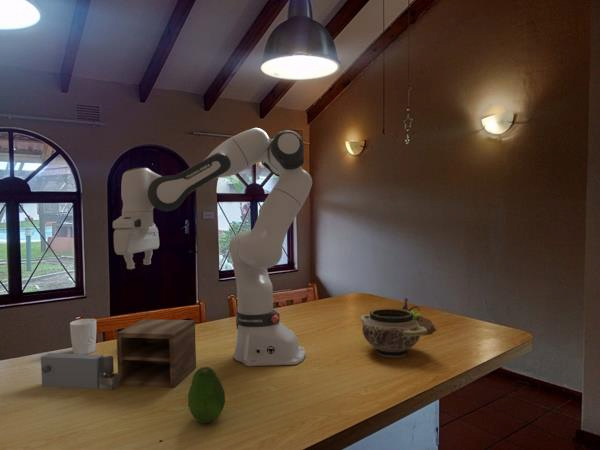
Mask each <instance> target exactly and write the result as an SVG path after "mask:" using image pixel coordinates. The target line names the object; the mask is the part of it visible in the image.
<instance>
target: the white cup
mask: <svg viewBox="0 0 600 450" xmlns="http://www.w3.org/2000/svg"><path fill="white" fill-rule="evenodd" d="M69 328H70V329H69V330H70V339H71V340H70V341H71V345H72V354H88V355H89V354H91V353H94V352H95V351H96V347H97V346H96V345H97V343H96V342H97V319H95V318H82V319H81V318H80V319H76V320H73V321H71V322H70V323H69Z"/></svg>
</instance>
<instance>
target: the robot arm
mask: <svg viewBox="0 0 600 450" xmlns="http://www.w3.org/2000/svg"><path fill="white" fill-rule="evenodd" d="M257 163H261V165H262V166H263V167H265V168H266V169H267V170H269V172H270V173H271V174H273V175H274V176H276V177H278V180H277V182H276V183H275V184H274V187H272V189H271V190H270V192H269V193H268V195H267V197H266V198H265V200H264V202H263V203H262V204H261V206H260V207H259V209H258V216H257V219H256V221H255V224H254V226H253V228H251V230H244V231H240V232H238V233H237V234H235V235H234V236H232V237H231V239H230V241H229V244H228V250H229V254H230V257H231V259H232V260H231V261H232V267H233V273H234V277H235V284H236V297H237V298H236V299H237V301H236V302H237V311H236V315H235V325H236V331H237V333H236V343H235V349H234V352H233V356H232V357H233V359H235V360H236V361H237V362H240V363H242V364H243V365H244V366H247V367H253V366H254V367H256V366H263V367H264V366H284V365H287V366H288V365H290V366H291V365H297V364H300V363H301V362H303V360H305V357H306V349H305V348H304V347H302V346H299V341H298V337H297V335H296V333H295V332H294V331H293V330H291V329H290V328H288V326H285V324H283V323H282V322H280V321H281V320H280V319H281V317H280V316H281V312H280V311H279V310H278V311H276V310H275V309H274V296H273V295H274V292H273V291H274V290H273V289H274V287H273V283H272V281H271V279H270V275H269V272H268V269H271V268H273V267H275V266H276V265H277V264H279V262H280V261H281V259H282V255H283V244H284V242H285V239H286V236H287V233H288V231H289V228H290V226H292V223H293V221H294V220H295V219H296V217H297V215H298V214H299V212H300V210H301V209H302V208H303V206H304V204H305V202H306V200H307V198H308V196H309V194H310V192H311V189H312V185H313V179H312V175H310V174H309V172H308V171H307V170H305V169H303V167H302V165H304V163H305V144H304V140H303V138H302V136H301V135H300V134H299V133H297V132H296V131H294V130H290V129H289V130H288V129H285V130H281V131H280V132H277V134H275V136H274V137H273V138H271V137H269V135H268V134H267V132H266V131H265V130H263V129H261V128H258V127H254V128H250V129H247V130H244V131H241V132H239V133H238V134H235V135H234V136H232V137H230V138H227V139H226V140H224V141H223V142H222V143H220V144H219V145H218V146H216V147H215V148H214V149H213V150H212V151H211V152H210V153H209V155H207V156H206V157H205V158H204V159H203V160H202V161H199V162H198V163H196V164H194V165H192V166H191V167H188V168H187V169H186V170H184V171H182V172H179V173H177V174H171V175H170V174H169V175H160V174H158V173H156V172H154V171H153V170H151V169H150V168H148V167H135V168H130V169H128V170H126V171H124V172H123V174H122V176H121V177H122V178H121V189H120V190H121V192H120V193H121V194H120V195H121V200H122V209H121V216H119V217H117V219H115V220H113V221H112V229H114V231H113V248H114V249H113V250H114V253H115V255H119V256H123V258H124V260H125V263H126V269H127V270H133V269H135V268H136V266H135V265H136V262H134V260H133V258H134V254H137V253H142V252H143V253H144V258H143V260H142V261H143V263H142V264H143V265H145V266H148V265H151V264H152V260H151V259H152V257H153V252H154V251H153V250H157V249H159V247H160V236H159V229H158V227H157V226H156V224H155V222H154V208H155V209H157V210H159V211H161V212H171V211H172V212H173V211H174V210H177V208H179V207H180V206H181V205H182V204H183V202H184V201H185V200H186V198H187V197H188V196H189V195H190V194H191V193H193V192H194V191H195V190H197V189H199V188H201V187H202V186H204V185H206V184H207V183H209V182H211V181H214V180H215V179H219V178H226V177H232V176H234V175H236V174H239V173H241V172H244V171H245V170H247V169H249V168H250V167H252V166H254V165H256V164H257Z"/></svg>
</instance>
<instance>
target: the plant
mask: <svg viewBox="0 0 600 450" xmlns="http://www.w3.org/2000/svg"><path fill="white" fill-rule="evenodd" d="M403 300H404V305H403V306H402V307H401V308H400V309H405V310H408V311H411V312H412V313H413V318H414V319H415V320H416V321H417V322H418V323H419V325H420V327H425V328H426V329H427V331H428V333H427V334H425V335H431V334H432V332H433V331H435V325H434V324H433V322H432V320H431V319H429V318H427V317H424V316H423V315H421V313H416V311H415V310H413V309H414V308H415V309H417V311H418V312H419V311H420V312H421V311H422V308H421V307H420V306H419V305H418V306H417V305H413V306H411V307H410V308H408V302H409V299H408V298H407V297H404V299H403ZM425 335H424V336H425Z"/></svg>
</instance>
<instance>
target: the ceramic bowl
mask: <svg viewBox="0 0 600 450" xmlns="http://www.w3.org/2000/svg"><path fill="white" fill-rule="evenodd" d="M408 310H409V309H408ZM408 310H405V309H401V308H391V307H390V308H389V307H388V308H386V307H385V308H377V309H372V310H370V312H369V314H362V315H361V316H360V317H359V318H360V322H361V324H362V330H361V331H362V335H363V337H364V339H365V340H366V341H367V342H368V343H369V344H370V345H371V346H372V347H373V348H375V349H376V350H375V352H376V353H377V354H378V355H380V356H382V357H386V358H402V357H405V356H406V355H407V354H408V350H409V349H411V348H412V347H414V346H415V345H416V344H417V343H418V342H419V340H420V337H421V336H423V335H424V336H425V334H426V335H428V334H427V333H428V331H427V329H426V328H425V327H420V325H419V323H418V322H417V321H416V320H415V319H414V318H413V313H412V312H413V311H412V312H411V311H408Z"/></svg>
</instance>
